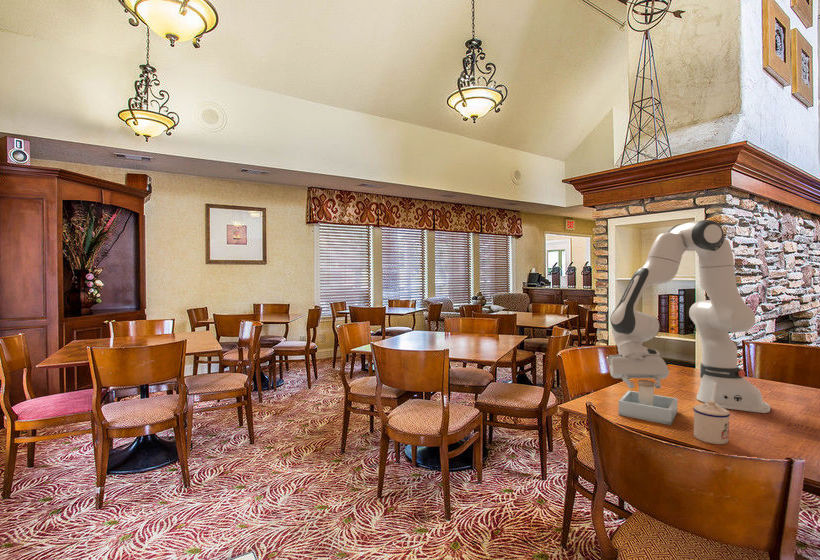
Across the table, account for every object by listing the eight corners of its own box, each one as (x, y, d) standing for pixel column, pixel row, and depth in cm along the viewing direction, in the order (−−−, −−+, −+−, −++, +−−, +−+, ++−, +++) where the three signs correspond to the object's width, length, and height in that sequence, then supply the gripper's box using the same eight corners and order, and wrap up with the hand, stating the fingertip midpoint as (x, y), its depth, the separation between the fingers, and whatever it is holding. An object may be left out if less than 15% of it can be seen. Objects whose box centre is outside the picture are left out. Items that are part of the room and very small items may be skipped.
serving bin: (677, 412, 153) (677, 398, 153) (670, 425, 140) (671, 410, 140) (628, 403, 163) (628, 390, 163) (618, 414, 150) (618, 400, 150)
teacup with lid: (729, 447, 123) (730, 408, 122) (692, 440, 128) (692, 402, 128) (728, 434, 133) (729, 397, 132) (693, 428, 138) (694, 392, 138)
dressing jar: (655, 408, 153) (655, 381, 153) (652, 412, 149) (653, 384, 149) (639, 406, 157) (639, 379, 156) (636, 409, 152) (636, 382, 152)
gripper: (607, 350, 161) (618, 382, 152) (662, 350, 160) (677, 383, 151) (602, 359, 166) (613, 391, 156) (656, 359, 165) (670, 392, 155)
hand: (645, 387), depth 153 cm, fingers open, 8 cm apart
